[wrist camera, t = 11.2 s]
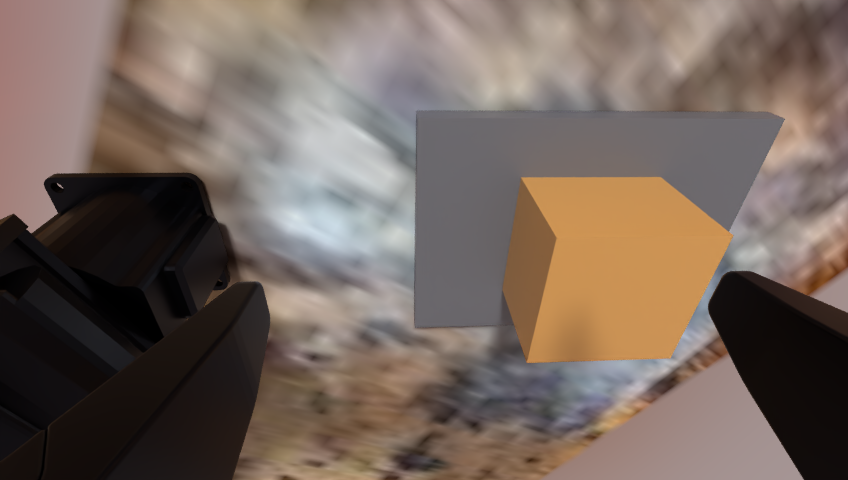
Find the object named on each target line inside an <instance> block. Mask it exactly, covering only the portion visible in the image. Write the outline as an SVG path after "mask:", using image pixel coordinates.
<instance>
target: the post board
mask: <svg viewBox="0 0 848 480" xmlns="http://www.w3.org/2000/svg"><path fill="white" fill-rule="evenodd" d="M784 120H785V119H784V118H782V117H779V116H777V115H774V114H772V113H769V112H644V111H417V118H416V202H415V287H414V321H415V328H419V327H453V326H488V325H514V323H513V320H512V317H511V314H510V311H509V308H508V305H507V302H506V299H505V296H504V293H503V290H502V288H503V282H504V276H505V270H506V264H507V258H508V252H509V246H510V240H511V234H512V228H513V222H514V216H515V210H516V204H517V198H518V192H519V186H520V180H521V177H661V178H663V179H664V180H665V181H666V182H668V183H669V184H670V185H671V186H672V187H674V188H675V189H676V190H677V191H679V192H680V193H681V194H682V195H684V196H685V197H686V198H687V199H689V200H690V201H691V202H692V203H694V204H695V205H696V206H697V207H699V208H700V209H701V210H702V211H703V212H705V213H706V214H707V215H708V216H710V217H711V218H712V219H713V220H715V221H716V222H717V223H718V224H720V225H721V226H722V227H723V228H725V229H726V230H727V231H728V232H729V230H730V228H731V226H732V224H733V222H734V220H735V218H736V216H737V214H738V212H739V210H740V208H741V206H742V204H743V202H744V200H745V198H746V196H747V194H748V192H749V190H750V188H751V186H752V184H753V182H754V180H755V178H756V176H757V174H758V172H759V170H760V168H761V166H762V164H763V162H764V160H765V158H766V156H767V154H768V152H769V150H770V148H771V146H772V144H773V142H774V140H775V138H776V136H777V134H778V132H779V130H780V128H781V126H782V124H783V122H784Z"/></svg>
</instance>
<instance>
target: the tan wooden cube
mask: <svg viewBox="0 0 848 480" xmlns="http://www.w3.org/2000/svg"><path fill="white" fill-rule="evenodd" d="M732 237H733V235H732V234H731V233H730V232H728V231H727V230H726V229H725V228H723V227H722V226H721V225H720V224H718V223H717V222H716V221H715V220H713V219H712V218H711V217H710V216H708V215H707V214H706V213H705V212H703V211H702V210H701V209H700V208H699V207H697V206H696V205H695V204H694V203H692V202H691V201H690V200H689V199H687V198H686V197H685V196H684V195H682V194H681V193H680V192H679V191H677V190H676V189H675V188H674V187H672V186H671V185H670V184H669V183H668V182H666V181H665V180H664V179H663V178H661V177H521V180H520V186H519V192H518V198H517V204H516V210H515V216H514V222H513V228H512V234H511V240H510V246H509V252H508V258H507V264H506V270H505V276H504V282H503V288H502V290H503V293H504V296H505V299H506V302H507V305H508V308H509V311H510V314H511V317H512V320H513V323H514V326H515V329H516V332H517V335H518V338H519V341H520V344H521V347H522V350H523V353H524V356H525V359H526V362H527V363H539V362H570V361H601V360H632V359H663V358H671V356H672V354H673V352H674V350H675V348H676V346H677V344H678V342H679V340H680V338H681V336H682V334H683V333H684V331H685V329H686V327H687V325H688V323H689V321H690V319H691V317H692V315H693V313H694V311H695V309H696V307H697V305H698V303H699V301H700V300H701V298H702V296H703V294H704V292H705V290H706V288H707V286H708V284H709V282H710V280H711V278H712V276H713V274H714V272H715V270H716V268H717V267H718V265H719V263H720V261H721V259H722V257H723V255H724V253H725V251H726V249H727V247H728V245H729V243H730V241H731V239H732Z"/></svg>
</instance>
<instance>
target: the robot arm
mask: <svg viewBox="0 0 848 480" xmlns="http://www.w3.org/2000/svg"><path fill="white" fill-rule="evenodd" d="M185 182H189V183H190V184H191V185H192V186H193V188H189V187H187V186H186V185H185ZM57 183H58V184H60V185H61V186H62V187H63V189H62V188H61V187H59V186H58V185H57ZM44 186H45V189H46V191H47V192H48V195H49V196H50V198H51V200H52V202H53V204H54V206H55V208H56V210H57V212H58V214H57V215H55V216H54V217H53V218H51V219H50V220H49V221H48V222H46V223H45V224H43V225H42V226H41V227H40V228H38V229H37V230H36V231H34V232H33V233H30V232H29V231H28V230H26V229H27V228H28V226H27V225H26V224H25V223H24V222H23V221H22V220H20V219H19V218H18V217H17V216H16V215H15V214H12V215H9V216H7V217H5V218H3V219H1V220H0V480H232V478H233V475H234V472H235V468H236V465H237V462H238V459H239V455H240V452H241V449H242V446H243V442H244V439H245V436H246V433H247V429H248V426H249V423H250V420H251V416H252V413H253V409H254V406H255V402H256V398H257V393H258V388H259V382H260V377H261V372H262V366H263V361H264V355H265V350H266V344H267V339H268V333H269V328H270V314H269V309H268V305H267V301H266V297H265V293H264V289H263V286H262V285H261V283H259V282H257V281H255V282H237V283H235V284H234V285H232V286H231V287H230V288H228V289H227V290H226V291H224V292H223V293H222V294H221V295H219V296H218V297H217V298H215V299H214V300H213V301H211V302H210V303H209V304H207V305H206V306H205V307H203V306H204V305H205V303H206V301H207V299H208V297H209V295H210V294H211V292H212V290H224V289H225V288H226V287H227V286H228V284H229V282H230V276H229V272H228V269H227V266H226V264H227V263H228V257H227V253H226V250H225V246H224V243H223V240H222V236H221V233H220V229H219V226H218V222H217V220H216V219H215V218H214V217H213V216H212V215H211V212H210V209H209V205H208V202H207V199H206V195H205V192H204V189H203V185H202V182H201V180H200V179H199V178H198V177H197V176H196V175H194V174H191V173H70V174H54V175H52V176H50V177H49V178H47V179H46V180H45V182H44ZM218 279H220V280H221V281H222V282H220V281H218ZM708 311H709V314H710V317H711V319H712V321H713V323H714V325H715V327H716V329H717V331H718V333H719V335H720V337H721V339H722V341H723V343H724V345H725V347H726V349H727V351H728V353H729V355H730V357H731V359H732V361H733V363H734V365H735V367H736V369H737V371H738V373H739V375H740V376H741V378H742V380H743V382H744V384H745V385H746V387H747V389H748V391H749V392H750V394H751V395H752V397H753V399H754V400H755V402H756V404H757V405H758V407H759V408H760V410H761V412H762V413H763V415H764V417H765V418H766V420H767V421H768V423H769V424H770V426H771V428H772V429H773V431H774V432H775V434H776V436H777V437H778V439H779V441H780V442H781V444H782V445H783V447H784V449H785V450H786V452H787V453H788V455H789V456H790V458H791V460H792V461H793V463H794V465H795V466H796V468H797V469H798V471H799V472H800V474H801V476H802V477H803V479H804V480H848V313H846V312H845V311H842V310H840V309H838V308H835V307H833V306H831V305H828V304H826V303H824V302H821V301H819V300H817V299H814V298H812V297H810V296H807V295H805V294H803V293H800V292H798V291H796V290H793V289H791V288H789V287H786V286H784V285H782V284H780V283H777V282H775V281H773V280H770V279H768V278H766V277H763V276H761V275H759V274H756V273H754V272H751V271H730V272H727V273H726V274H724V275H723V276H722V278H721V280H720V282H719V284H718V285H717V287H716V289H715V291H714V293H713V295H712V297H711V299H710V301H709V304H708ZM187 318H189V319H188V320H187Z"/></svg>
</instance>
